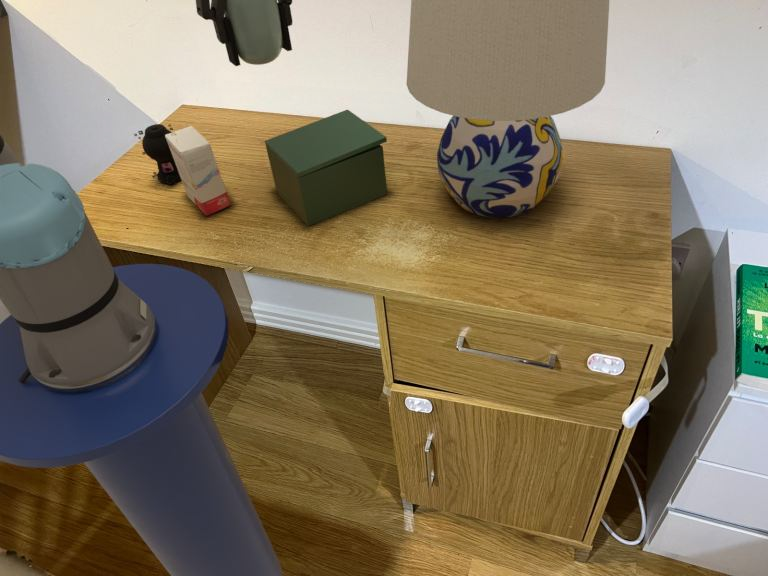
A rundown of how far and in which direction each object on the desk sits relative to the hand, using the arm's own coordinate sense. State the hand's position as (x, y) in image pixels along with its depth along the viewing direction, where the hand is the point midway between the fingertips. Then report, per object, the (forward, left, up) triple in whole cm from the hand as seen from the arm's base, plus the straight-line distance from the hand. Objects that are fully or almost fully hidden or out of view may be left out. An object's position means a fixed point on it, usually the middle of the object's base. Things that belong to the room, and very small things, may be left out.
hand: (261, 55), depth 92 cm
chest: (+3, -11, -21) cm, 24 cm away
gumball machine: (-18, +12, -21) cm, 30 cm away
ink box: (-15, 0, -21) cm, 26 cm away
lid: (+4, -11, -12) cm, 16 cm away
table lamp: (+25, -28, -21) cm, 43 cm away
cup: (0, 0, -1) cm, 1 cm away
